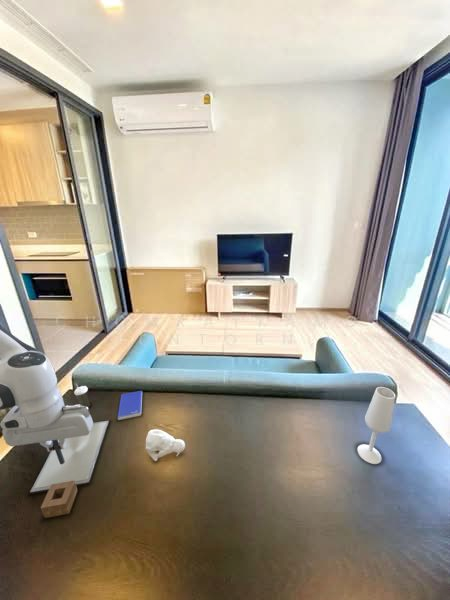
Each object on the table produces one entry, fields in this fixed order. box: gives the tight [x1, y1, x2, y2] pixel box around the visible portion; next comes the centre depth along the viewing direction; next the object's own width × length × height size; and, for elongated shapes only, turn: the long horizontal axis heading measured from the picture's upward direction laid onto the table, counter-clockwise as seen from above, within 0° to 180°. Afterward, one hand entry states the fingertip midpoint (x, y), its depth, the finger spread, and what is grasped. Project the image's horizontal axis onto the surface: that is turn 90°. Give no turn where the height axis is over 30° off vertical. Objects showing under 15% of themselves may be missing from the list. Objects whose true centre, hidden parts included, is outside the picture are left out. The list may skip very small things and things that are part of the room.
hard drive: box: [117, 390, 143, 421], centre depth 98 cm, size 2×8×12 cm
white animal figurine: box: [145, 428, 186, 462], centre depth 78 cm, size 6×8×12 cm
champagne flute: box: [356, 386, 396, 465], centre depth 74 cm, size 7×7×24 cm
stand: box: [40, 480, 79, 519], centre depth 65 cm, size 6×6×4 cm
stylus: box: [52, 440, 65, 464], centre depth 69 cm, size 1×1×14 cm
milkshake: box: [73, 382, 91, 409], centre depth 97 cm, size 5×5×10 cm
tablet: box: [29, 420, 110, 495], centre depth 80 cm, size 15×22×1 cm
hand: (57, 448), depth 69 cm, fingers closed on stylus, 1 cm apart
